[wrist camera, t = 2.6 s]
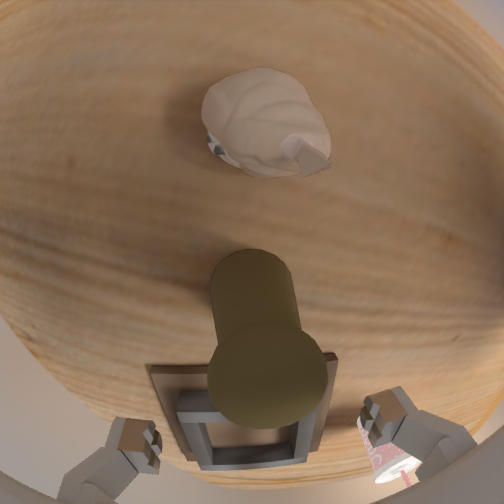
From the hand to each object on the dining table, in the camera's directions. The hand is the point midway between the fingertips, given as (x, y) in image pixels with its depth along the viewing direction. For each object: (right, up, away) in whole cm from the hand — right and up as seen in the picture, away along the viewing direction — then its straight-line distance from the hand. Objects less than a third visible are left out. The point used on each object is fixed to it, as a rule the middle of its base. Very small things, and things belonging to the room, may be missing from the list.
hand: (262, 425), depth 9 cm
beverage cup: (+14, -13, +18) cm, 27 cm away
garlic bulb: (0, +14, +8) cm, 16 cm away
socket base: (-1, -11, +16) cm, 19 cm away
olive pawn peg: (0, +4, +11) cm, 12 cm away
